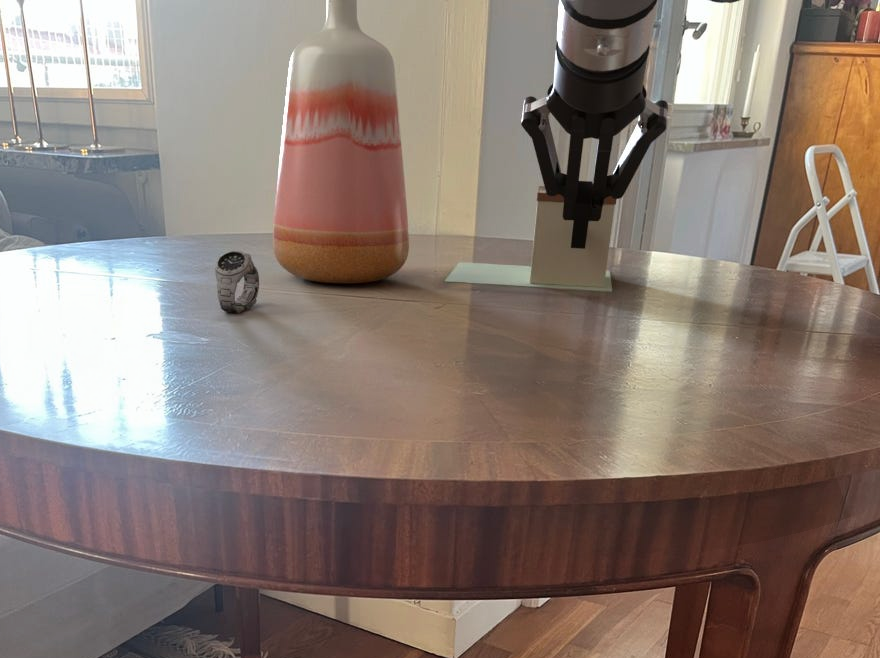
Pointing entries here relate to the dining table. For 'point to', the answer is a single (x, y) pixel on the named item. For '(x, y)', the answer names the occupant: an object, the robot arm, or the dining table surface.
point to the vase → (341, 159)
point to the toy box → (569, 245)
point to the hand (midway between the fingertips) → (579, 237)
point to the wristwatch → (236, 281)
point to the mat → (508, 276)
